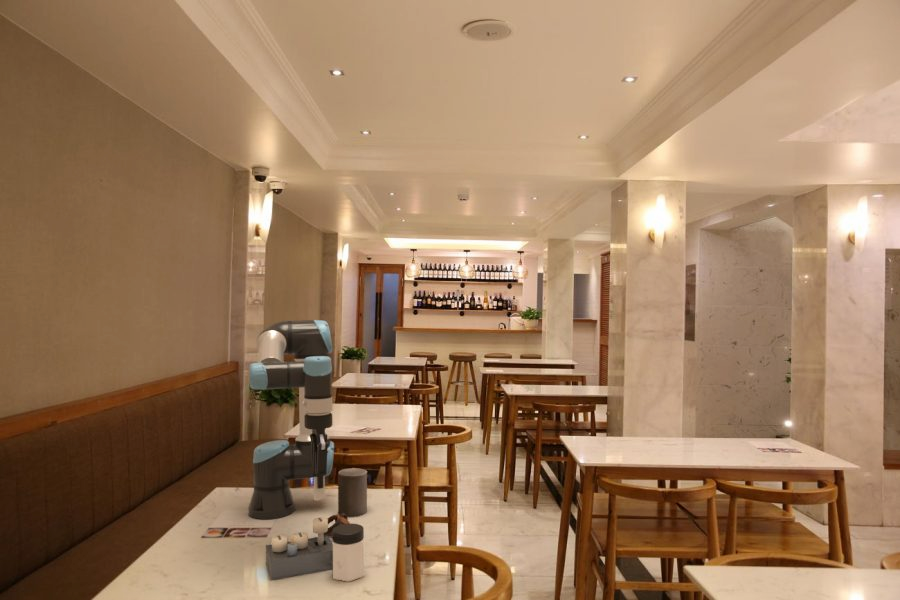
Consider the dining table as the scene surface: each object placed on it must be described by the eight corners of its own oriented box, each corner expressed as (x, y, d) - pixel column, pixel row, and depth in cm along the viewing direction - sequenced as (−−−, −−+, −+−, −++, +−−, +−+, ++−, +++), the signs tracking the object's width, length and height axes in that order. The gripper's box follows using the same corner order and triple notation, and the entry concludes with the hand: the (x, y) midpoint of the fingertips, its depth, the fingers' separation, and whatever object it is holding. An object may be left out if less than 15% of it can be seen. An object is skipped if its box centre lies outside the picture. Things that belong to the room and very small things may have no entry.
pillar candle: (338, 518, 206) (339, 472, 206) (337, 508, 215) (337, 464, 215) (368, 516, 208) (368, 471, 208) (365, 506, 218) (365, 463, 218)
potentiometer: (287, 553, 166) (286, 536, 166) (296, 551, 167) (296, 534, 167) (288, 556, 164) (288, 539, 164) (297, 555, 165) (297, 537, 165)
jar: (325, 578, 162) (324, 532, 162) (341, 565, 170) (341, 521, 170) (355, 583, 159) (354, 536, 159) (371, 570, 167) (370, 525, 166)
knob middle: (291, 562, 171) (291, 533, 171) (306, 560, 173) (306, 530, 173) (294, 568, 168) (294, 538, 168) (309, 565, 169) (309, 535, 169)
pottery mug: (353, 547, 184) (339, 525, 182) (326, 559, 185) (312, 537, 184) (361, 522, 195) (347, 501, 194) (335, 533, 197) (321, 513, 195)
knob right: (312, 547, 174) (311, 518, 174) (326, 544, 175) (326, 515, 175) (314, 552, 170) (314, 522, 170) (329, 550, 172) (329, 520, 171)
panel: (266, 563, 172) (265, 545, 172) (327, 552, 178) (327, 535, 178) (271, 580, 162) (271, 560, 162) (336, 568, 168) (336, 549, 168)
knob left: (271, 566, 169) (270, 536, 169) (286, 563, 171) (285, 533, 171) (273, 572, 166) (272, 541, 166) (288, 569, 167) (288, 538, 167)
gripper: (300, 410, 177) (301, 494, 177) (308, 418, 165) (310, 508, 165) (327, 408, 180) (328, 490, 180) (337, 415, 168) (338, 504, 168)
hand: (319, 498), depth 172 cm, fingers closed
